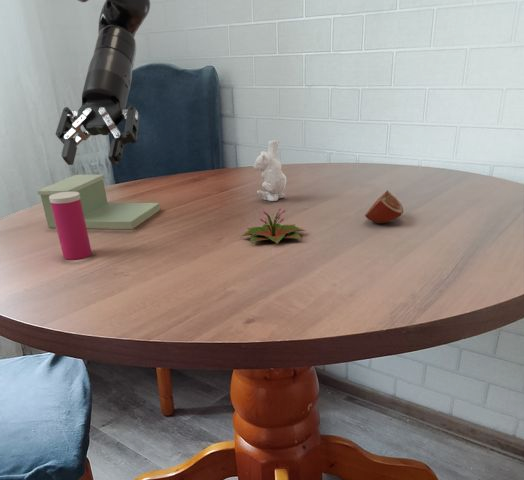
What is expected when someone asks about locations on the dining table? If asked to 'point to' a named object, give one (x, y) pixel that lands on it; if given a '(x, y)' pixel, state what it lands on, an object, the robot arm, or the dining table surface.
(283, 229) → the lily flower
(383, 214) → the fruit slice
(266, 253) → the dining table surface
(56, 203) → the lidded tumbler cup
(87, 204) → the step shelf
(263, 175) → the white bunny figurine
